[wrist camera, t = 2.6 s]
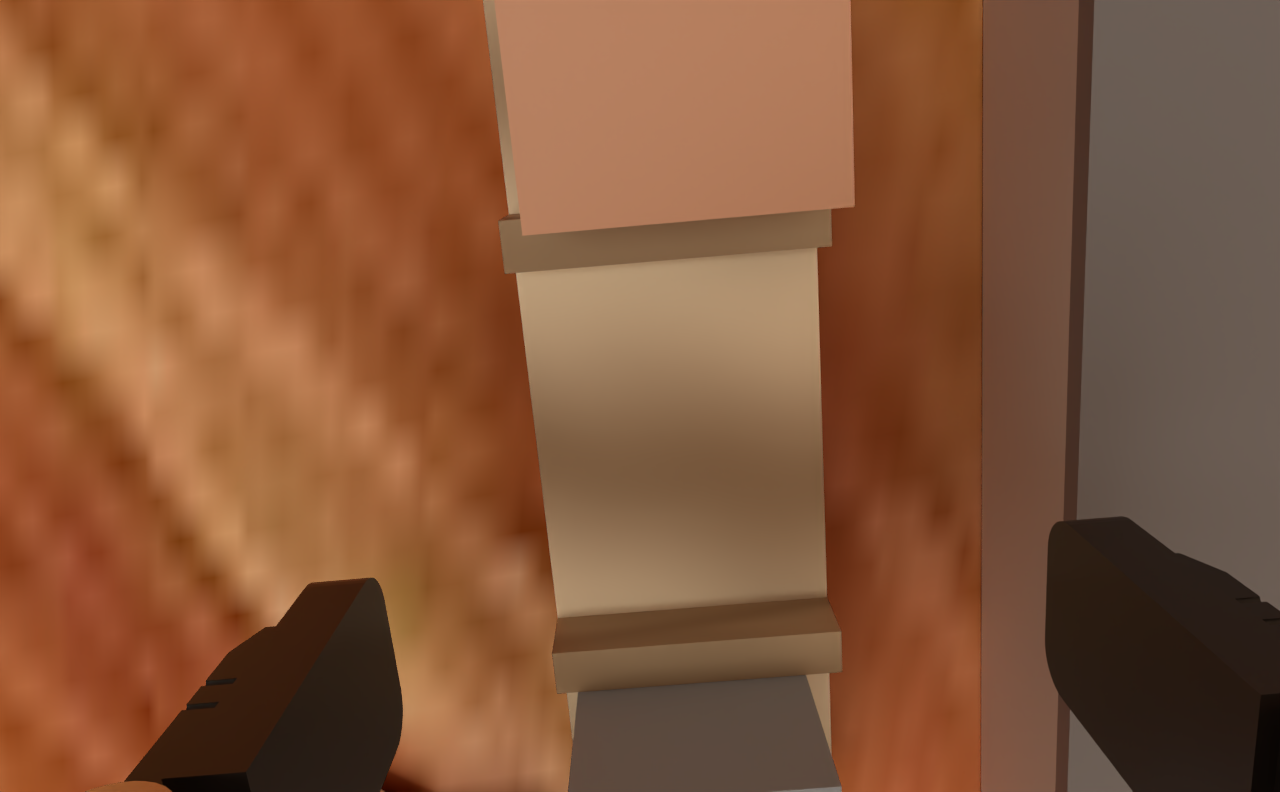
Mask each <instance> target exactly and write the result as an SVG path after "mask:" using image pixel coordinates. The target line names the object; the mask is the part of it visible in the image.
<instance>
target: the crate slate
mask: <svg viewBox="0 0 1280 792" xmlns="http://www.w3.org/2000/svg"><path fill="white" fill-rule="evenodd" d="M568 792H841V784H840V781H839V777H838V774H837V771H836V768H835V765H834V762H833V759H832V755H831V752H830V749H829V746H828V743H827V740H826V736H825V733H824V730H823V727H822V724H821V721H820V718H819V714H818V711H817V708H816V705H815V702H814V699H813V696H812V692H811V689H810V686H809V683H808V680H807V677H806V675H797V676H784V677H771V678H758V679H745V680H732V681H718V682H705V683H692V684H679V685H666V686H653V687H640V688H626V689H613V690H600V691H587V692H578V697H577V707H576V717H575V727H574V737H573V747H572V757H571V767H570V777H569V786H568Z"/></svg>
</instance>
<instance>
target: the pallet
mask: <svg viewBox="0 0 1280 792" xmlns="http://www.w3.org/2000/svg"><path fill="white" fill-rule="evenodd" d="M483 5H484V13H485V22H486V30H487V38H488V47H489V55H490V63H491V71H492V80H493V88H494V96H495V104H496V113H497V121H498V129H499V137H500V146H501V154H502V162H503V170H504V179H505V187H506V195H507V203H508V212H509V215H507V216H505V217H504V218H502V219H501V220H499V221H498V223H499V231H500V239H501V247H502V255H503V263H504V271H505V274H510V273H516V278H517V286H518V294H519V302H520V311H521V319H522V327H523V335H524V344H525V352H526V360H527V369H528V377H529V385H530V393H531V402H532V410H533V418H534V426H535V435H536V443H537V451H538V459H539V468H540V476H541V484H542V492H543V501H544V509H545V517H546V525H547V534H548V542H549V550H550V558H551V567H552V575H553V583H554V591H555V600H556V608H557V616H558V620H557V626H556V632H555V639H554V645H553V651H552V657H553V665H554V673H555V681H556V689H557V694H561V693H567V699H568V707H569V715H570V724H571V732H572V740H573V737H574V727H575V717H576V707H577V697H578V692H587V691H600V690H613V689H626V688H640V687H653V686H666V685H679V684H692V683H705V682H718V681H732V680H745V679H758V678H771V677H784V676H797V675H806V677H807V680H808V683H809V686H810V689H811V692H812V696H813V699H814V702H815V705H816V708H817V711H818V714H819V718H820V721H821V724H822V727H823V730H824V733H825V736H826V740H827V743H828V746H829V749H830V752H831V755H832V751H831V716H830V681H829V673H837V672H842V637H841V629H840V627H839V625H838V622H837V620H836V617H835V615H834V613H833V610H832V608H831V605H830V603H829V601H828V598H827V577H826V542H825V507H824V473H823V438H822V403H821V368H820V334H819V299H818V264H817V248H819V247H831V246H832V223H831V209H823V210H812V211H800V212H789V213H777V214H766V215H755V216H743V217H732V218H720V219H709V220H697V221H686V222H674V223H663V224H652V225H640V226H629V227H617V228H606V229H594V230H583V231H571V232H560V233H549V234H537V235H526V236H522V228H521V220H520V211H519V203H518V195H517V186H516V178H515V170H514V161H513V153H512V145H511V136H510V128H509V120H508V111H507V103H506V95H505V86H504V78H503V70H502V61H501V53H500V44H499V36H498V28H497V19H496V11H495V3H494V0H483Z"/></svg>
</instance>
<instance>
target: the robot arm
mask: <svg viewBox="0 0 1280 792" xmlns="http://www.w3.org/2000/svg"><path fill="white" fill-rule="evenodd" d="M1045 652H1046V658H1047V663H1048V668H1049V671H1050V675H1051V678H1052V680H1053V683H1054V685H1055V688H1056V690H1057V691H1058V693H1059V695H1060V696H1061V698H1062V699H1063V701H1064V702H1065V703H1066V705H1067V706H1068V707H1069V708H1070V710H1071V711H1072V712H1073V714H1074V715H1075V716H1076V718H1077V719H1078V720H1079V722H1080V723H1081V724H1082V725H1083V727H1084V728H1085V729H1086V731H1087V732H1088V733H1089V735H1090V736H1091V737H1092V739H1093V740H1094V741H1095V743H1096V744H1097V745H1098V746H1099V748H1100V749H1101V750H1102V752H1103V753H1104V754H1105V756H1106V757H1107V758H1108V760H1109V761H1110V762H1111V763H1112V765H1113V766H1114V767H1115V769H1116V770H1117V771H1118V773H1119V774H1120V775H1121V777H1122V778H1123V779H1124V780H1125V782H1126V783H1127V784H1128V786H1129V787H1130V788H1131V790H1132V791H1133V792H1280V611H1279V610H1278V609H1276V608H1275V607H1274V606H1272V605H1271V604H1270V603H1268V602H1261V600H1260V596H1259V595H1257V594H1256V593H1254V592H1253V591H1252V590H1250V589H1249V588H1248V587H1246V586H1245V585H1243V584H1242V583H1241V582H1239V581H1238V580H1237V579H1235V578H1234V577H1232V576H1231V575H1230V574H1228V573H1227V572H1225V571H1222V570H1220V569H1218V568H1215V567H1213V566H1210V565H1208V564H1205V563H1203V562H1200V561H1198V560H1195V559H1193V558H1191V557H1188V556H1186V555H1183V554H1181V553H1174V552H1173V551H1171V550H1170V549H1169V548H1168V547H1166V546H1165V545H1164V544H1162V543H1161V542H1160V541H1158V540H1157V539H1156V538H1154V537H1153V536H1152V535H1150V534H1149V533H1148V532H1147V531H1145V530H1144V529H1143V528H1141V527H1140V526H1139V525H1137V524H1136V523H1135V522H1133V521H1132V520H1131V519H1129V518H1127V517H1124V516H1117V517H1105V518H1093V519H1081V520H1069V521H1058V522H1056V523H1055V524H1054V525H1053V527H1052V528H1051V531H1050V534H1049V539H1048V554H1047V586H1046V618H1045ZM402 719H403V705H402V693H401V687H400V682H399V676H398V671H397V665H396V660H395V655H394V649H393V644H392V638H391V633H390V627H389V622H388V617H387V611H386V606H385V600H384V596H383V592H382V589H381V587H380V585H379V583H378V581H377V580H376V579H374V578H362V579H350V580H339V581H327V582H315V583H310V584H308V585H307V586H306V588H305V589H304V590H303V592H302V593H301V594H300V595H299V597H298V598H297V599H296V601H295V602H294V603H293V605H292V606H291V607H290V609H289V610H288V611H287V613H286V614H285V615H284V617H283V618H282V619H281V621H280V622H279V623H278V625H277V626H275V627H265V628H264V629H262V630H261V631H259V632H258V633H256V634H255V635H253V636H252V637H251V638H249V639H248V640H246V641H245V642H243V643H242V644H240V645H239V646H237V647H236V648H235V649H233V650H232V651H230V652H229V653H228V654H227V655H226V656H225V658H224V659H223V660H222V661H221V663H220V664H219V665H218V666H217V668H216V669H215V670H214V671H213V673H212V674H211V675H210V676H209V677H208V679H207V680H206V686H201V687H200V689H199V690H198V691H197V692H196V693H195V695H194V696H193V697H192V698H191V700H190V701H189V702H188V703H187V709H186V710H182V711H181V712H180V713H179V714H178V716H177V717H176V718H175V719H174V721H173V722H172V723H171V724H170V726H169V727H168V728H167V729H166V730H165V732H164V733H163V734H162V735H161V737H160V738H159V739H158V740H157V742H156V743H155V744H154V745H153V747H152V748H151V749H150V750H149V751H148V753H147V754H146V755H145V756H144V758H143V759H142V760H141V761H140V763H139V764H138V765H137V766H136V767H135V769H134V770H133V771H132V772H131V774H130V775H129V776H128V777H127V779H126V780H125V781H124V782H119V783H114V784H109V785H105V786H101V787H98V788H94V789H91V790H88V791H85V792H380V791H381V788H382V786H383V783H384V781H385V778H386V776H387V773H388V771H389V768H390V766H391V763H392V761H393V758H394V756H395V753H396V751H397V748H398V745H399V741H400V736H401V730H402Z"/></svg>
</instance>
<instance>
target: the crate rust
mask: <svg viewBox="0 0 1280 792" xmlns="http://www.w3.org/2000/svg"><path fill="white" fill-rule="evenodd" d="M494 3H495V11H496V19H497V28H498V36H499V44H500V53H501V61H502V70H503V78H504V86H505V95H506V103H507V111H508V120H509V128H510V136H511V145H512V153H513V161H514V170H515V178H516V186H517V195H518V203H519V211H520V220H521V228H522V236H526V235H537V234H549V233H560V232H571V231H583V230H594V229H606V228H617V227H629V226H640V225H652V224H663V223H674V222H686V221H697V220H709V219H720V218H732V217H743V216H755V215H766V214H777V213H789V212H800V211H812V210H823V209H835V208H846V207H855V192H854V143H853V94H852V45H851V0H494Z"/></svg>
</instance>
